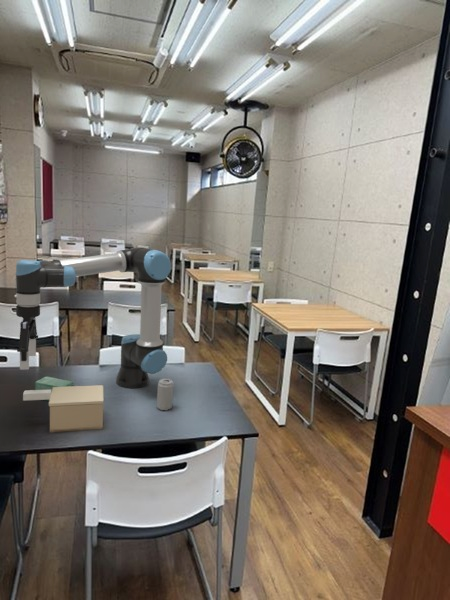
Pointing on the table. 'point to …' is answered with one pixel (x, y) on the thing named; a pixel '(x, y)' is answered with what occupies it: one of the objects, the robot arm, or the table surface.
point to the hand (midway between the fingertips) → (28, 362)
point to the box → (51, 383)
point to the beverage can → (165, 394)
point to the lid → (68, 395)
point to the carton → (76, 417)
